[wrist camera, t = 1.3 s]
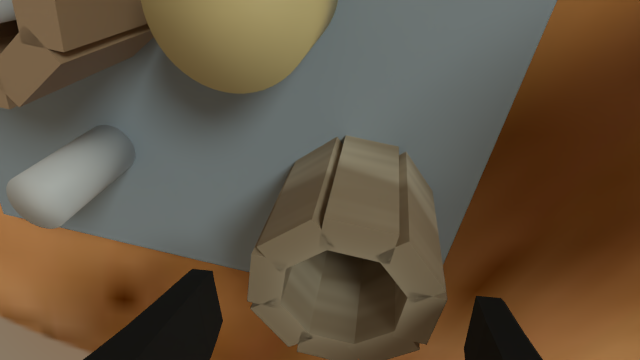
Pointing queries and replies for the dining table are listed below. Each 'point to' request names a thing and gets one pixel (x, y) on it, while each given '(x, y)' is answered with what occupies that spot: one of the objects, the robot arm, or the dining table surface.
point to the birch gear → (350, 255)
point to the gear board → (242, 106)
